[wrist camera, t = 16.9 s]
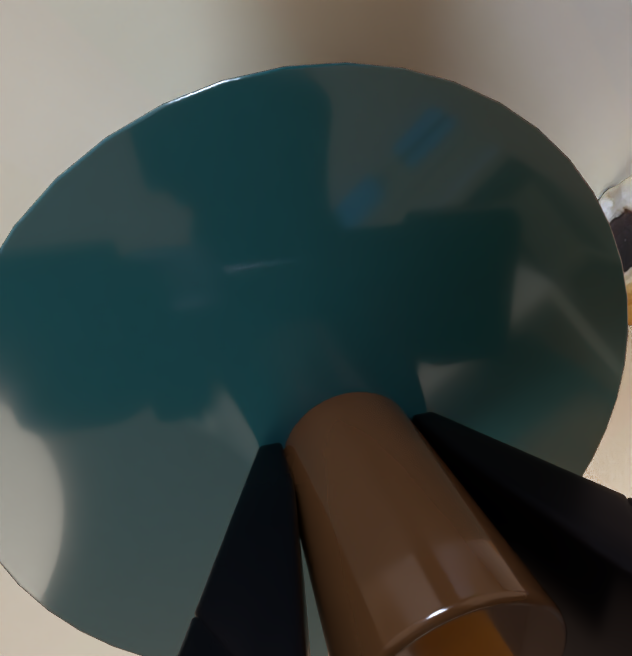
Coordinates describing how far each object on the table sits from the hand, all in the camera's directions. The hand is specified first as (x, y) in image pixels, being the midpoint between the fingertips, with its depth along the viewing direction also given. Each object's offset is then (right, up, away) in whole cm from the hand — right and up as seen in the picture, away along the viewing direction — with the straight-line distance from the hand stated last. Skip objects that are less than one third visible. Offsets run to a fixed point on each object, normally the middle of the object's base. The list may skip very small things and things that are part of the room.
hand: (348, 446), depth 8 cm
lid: (0, 0, 0) cm, 1 cm away
